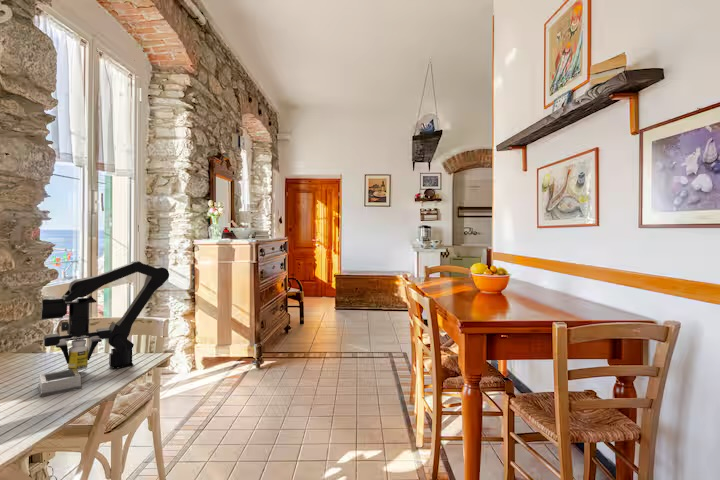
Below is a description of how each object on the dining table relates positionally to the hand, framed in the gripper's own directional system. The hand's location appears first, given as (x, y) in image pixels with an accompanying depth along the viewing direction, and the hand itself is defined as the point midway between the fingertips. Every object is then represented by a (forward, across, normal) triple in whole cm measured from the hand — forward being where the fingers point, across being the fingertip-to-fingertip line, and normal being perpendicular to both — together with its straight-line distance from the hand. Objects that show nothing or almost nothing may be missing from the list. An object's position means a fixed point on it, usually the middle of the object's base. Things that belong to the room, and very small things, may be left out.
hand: (78, 361), depth 133 cm
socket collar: (+4, +6, +12) cm, 14 cm away
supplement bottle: (+3, 0, 0) cm, 3 cm away
